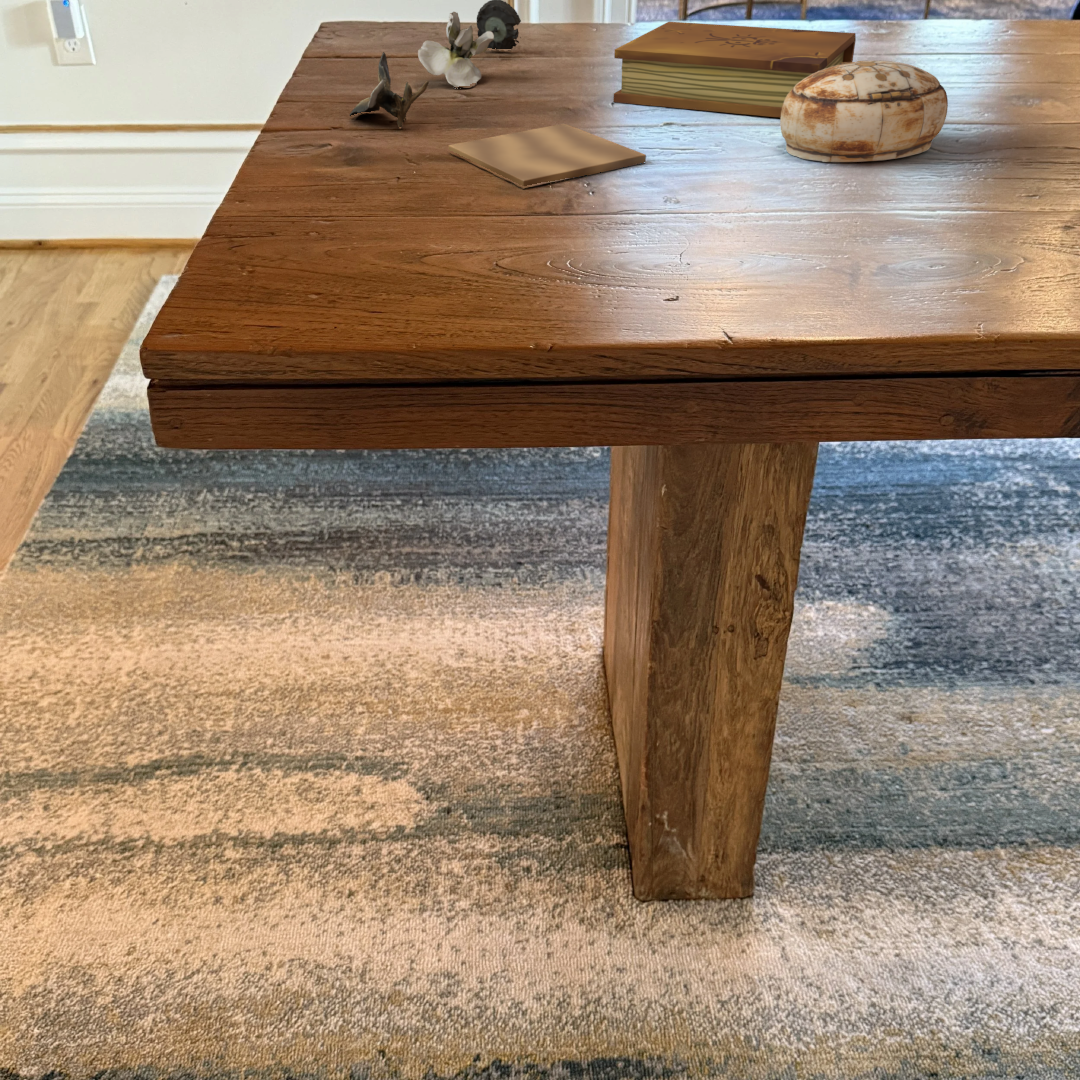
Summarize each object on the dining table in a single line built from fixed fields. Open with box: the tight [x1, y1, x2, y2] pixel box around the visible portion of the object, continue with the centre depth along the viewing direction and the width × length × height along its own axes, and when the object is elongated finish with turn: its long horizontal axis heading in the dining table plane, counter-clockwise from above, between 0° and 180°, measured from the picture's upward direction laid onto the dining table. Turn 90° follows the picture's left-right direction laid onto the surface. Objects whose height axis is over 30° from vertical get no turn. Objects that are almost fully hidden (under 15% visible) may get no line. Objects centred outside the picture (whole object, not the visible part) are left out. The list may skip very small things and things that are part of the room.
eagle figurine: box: [349, 51, 430, 128], centre depth 112 cm, size 8×7×9 cm
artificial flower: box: [417, 0, 522, 87], centre depth 132 cm, size 9×22×10 cm, turn 159°
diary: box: [613, 21, 857, 119], centre depth 121 cm, size 23×19×6 cm
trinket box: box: [779, 60, 949, 163], centre depth 101 cm, size 13×15×8 cm
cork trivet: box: [448, 123, 647, 186], centre depth 102 cm, size 14×14×1 cm
